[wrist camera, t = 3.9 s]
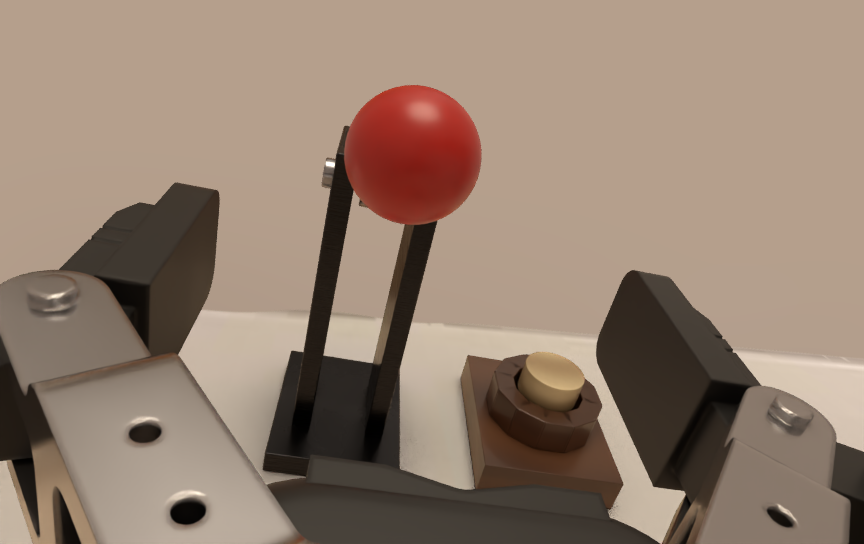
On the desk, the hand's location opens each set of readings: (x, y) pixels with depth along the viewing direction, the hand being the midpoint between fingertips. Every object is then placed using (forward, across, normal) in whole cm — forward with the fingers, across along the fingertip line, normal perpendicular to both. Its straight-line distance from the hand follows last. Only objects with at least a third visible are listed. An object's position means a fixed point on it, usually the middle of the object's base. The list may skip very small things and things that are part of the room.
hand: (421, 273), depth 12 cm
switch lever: (+11, 0, +4) cm, 12 cm away
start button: (+19, -12, +17) cm, 28 cm away
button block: (+19, -12, +20) cm, 30 cm away
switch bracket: (+18, 0, +20) cm, 27 cm away
